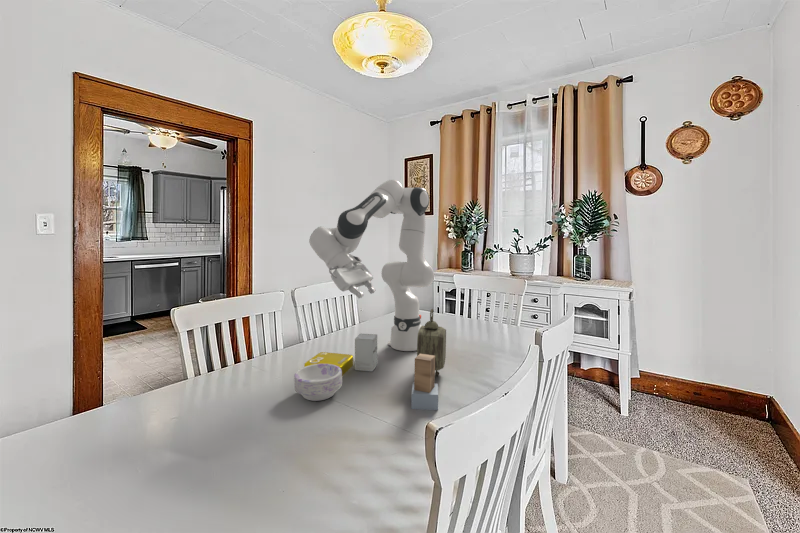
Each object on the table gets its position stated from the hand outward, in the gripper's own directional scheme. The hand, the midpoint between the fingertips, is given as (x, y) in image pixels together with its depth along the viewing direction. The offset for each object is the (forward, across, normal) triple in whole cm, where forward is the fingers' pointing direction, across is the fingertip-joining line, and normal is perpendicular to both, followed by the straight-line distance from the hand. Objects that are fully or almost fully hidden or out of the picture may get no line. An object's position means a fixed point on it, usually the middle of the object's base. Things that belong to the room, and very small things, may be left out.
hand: (367, 294), depth 128 cm
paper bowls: (+15, -15, +30) cm, 37 cm away
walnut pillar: (+35, -8, +2) cm, 36 cm away
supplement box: (+18, +12, +27) cm, 34 cm away
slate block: (+39, -8, +6) cm, 40 cm away
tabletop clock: (+36, +14, +9) cm, 40 cm away
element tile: (+9, +6, +36) cm, 38 cm away
